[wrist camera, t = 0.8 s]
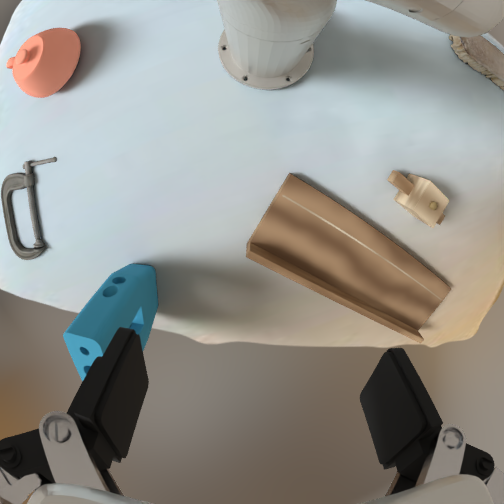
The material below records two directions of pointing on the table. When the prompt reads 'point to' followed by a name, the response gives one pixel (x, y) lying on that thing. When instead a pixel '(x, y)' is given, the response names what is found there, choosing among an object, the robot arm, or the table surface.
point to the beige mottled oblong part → (480, 56)
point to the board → (344, 259)
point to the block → (113, 314)
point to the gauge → (419, 197)
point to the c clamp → (28, 181)
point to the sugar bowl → (46, 61)
